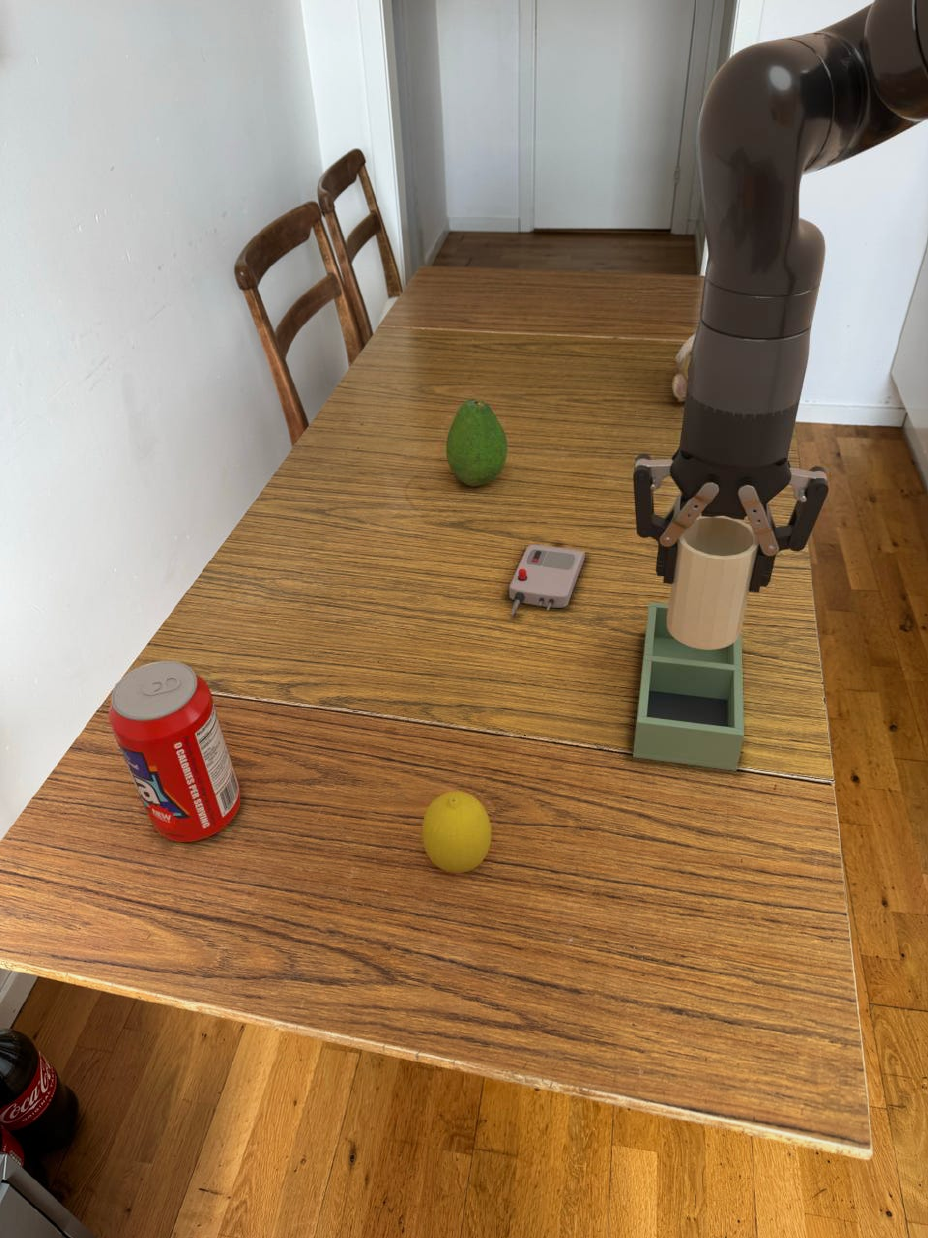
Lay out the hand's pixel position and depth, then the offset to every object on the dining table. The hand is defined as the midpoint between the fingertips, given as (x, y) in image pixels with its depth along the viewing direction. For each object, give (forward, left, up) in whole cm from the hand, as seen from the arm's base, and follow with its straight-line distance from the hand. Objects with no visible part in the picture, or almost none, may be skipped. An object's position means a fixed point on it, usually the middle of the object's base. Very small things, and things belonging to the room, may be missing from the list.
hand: (710, 581), depth 71 cm
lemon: (+9, +23, -18) cm, 31 cm away
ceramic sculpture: (+31, -68, -18) cm, 77 cm away
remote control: (+24, -13, -18) cm, 33 cm away
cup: (0, 0, -5) cm, 5 cm away
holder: (+2, -5, -18) cm, 19 cm away
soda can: (+31, +32, -18) cm, 48 cm away
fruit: (+44, -27, -18) cm, 55 cm away
